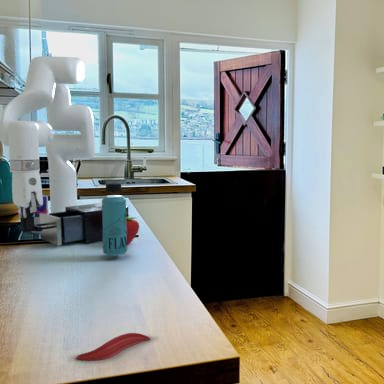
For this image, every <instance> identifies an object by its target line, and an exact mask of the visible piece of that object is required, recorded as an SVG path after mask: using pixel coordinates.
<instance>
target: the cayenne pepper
mask: <svg viewBox="0 0 384 384" xmlns="http://www.w3.org/2000/svg"><path fill="white" fill-rule="evenodd" d="M150 340H151V338H150V336H148V335H145V334H142V333H139V332H128V333H124V334H120V335H118V336H115V337H113V338H112V339H109V340H108V341H107V342H105V343H103V344H101V345H100V346H99V347H97V348H95V349H93V350H91V351H88V352H85V353H81V354H78V355H77V356H76V357H75V359H77V360H80V361H81V360H82V361H101V360H105V359H109V358H112V357H114V356H116V355H117V354H118V353H120V352H121V351H123V350H125V349H128V348H129V347H132V346H134V345H136V344H139V343H143V342H145V341H150Z"/></svg>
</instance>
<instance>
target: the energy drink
mask: <svg viewBox="0 0 384 384" xmlns="http://www.w3.org/2000/svg"><path fill="white" fill-rule="evenodd" d="M42 196H43V205H42V206H41V207H38V206H36V207H37V212H35V217H34V224H35V225H36V224H40V213H45V214H49V198H48V195H47V194H42ZM31 233H32V234H37V235H38V234H39V235H40V232H39V231H37V230H34V231H31Z"/></svg>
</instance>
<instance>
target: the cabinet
mask: <svg viewBox="0 0 384 384" xmlns="http://www.w3.org/2000/svg"><path fill="white" fill-rule="evenodd" d="M65 209H66V210H65V211H73V212H77V213H80V214H84V226H85V239H84V240H78V241H77V242H79V243H82V244H85V245H89V244H94V243H95V244H96V243H101V242H102V243H103V241H102V238H103V219H102V202H98V203H89V204H80V205H78V204H77V206H70V207H65ZM126 211H127V212H126V214H127V213H128V214H127V217H128V215H129V206H127V205H126Z"/></svg>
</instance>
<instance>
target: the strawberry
mask: <svg viewBox="0 0 384 384" xmlns="http://www.w3.org/2000/svg"><path fill="white" fill-rule="evenodd" d="M126 212H127V211H126ZM127 214H128V217H127V216H126V221H127V222H126V228H127V246H129V245H130V244H131V243H132V241H134V239H135V237H136V236H137V235H138V233H139V229H140V223H139V221H137V220H135V219H136V217H132V216H131V217H130V215H129V212H128V213H127Z"/></svg>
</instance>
